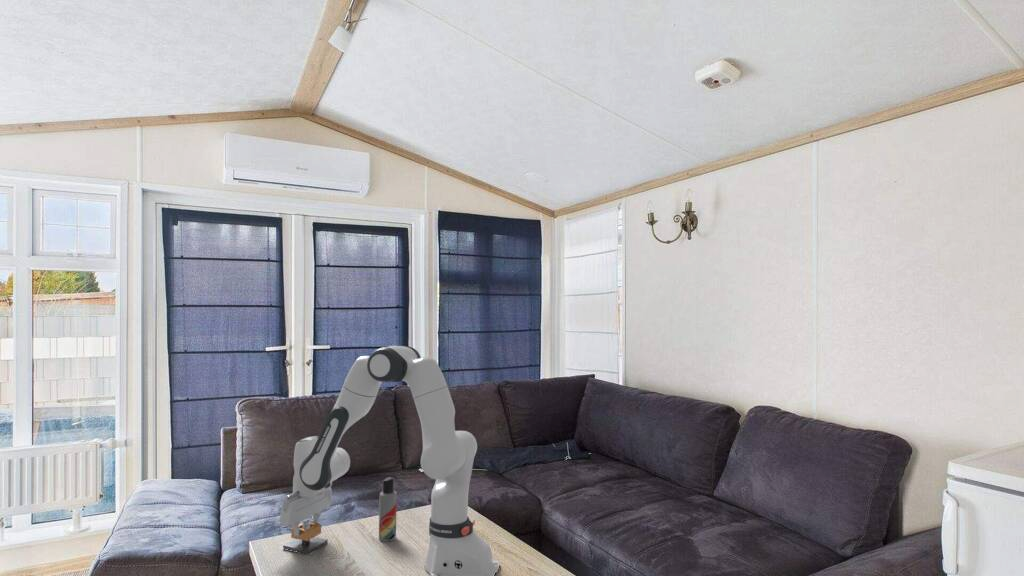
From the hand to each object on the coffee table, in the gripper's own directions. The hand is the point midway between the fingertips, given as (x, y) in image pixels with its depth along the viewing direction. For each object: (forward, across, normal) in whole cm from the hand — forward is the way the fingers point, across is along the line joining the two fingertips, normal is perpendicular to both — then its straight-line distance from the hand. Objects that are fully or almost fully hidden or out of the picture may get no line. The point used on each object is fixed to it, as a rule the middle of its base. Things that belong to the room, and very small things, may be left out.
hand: (306, 530), depth 176 cm
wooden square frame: (+2, 0, 0) cm, 2 cm away
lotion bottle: (+5, +15, -21) cm, 26 cm away
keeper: (+5, 0, 0) cm, 5 cm away
